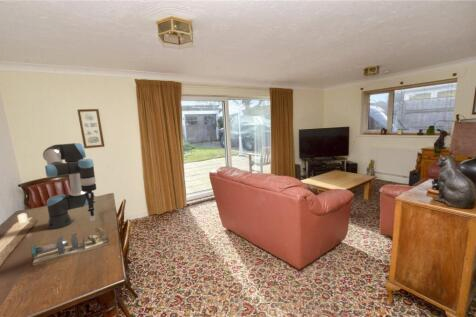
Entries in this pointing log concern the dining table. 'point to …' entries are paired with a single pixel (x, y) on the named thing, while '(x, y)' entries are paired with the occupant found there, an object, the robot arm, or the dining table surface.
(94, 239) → the bone
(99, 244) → the board
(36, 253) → the shaft
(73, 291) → the dining table surface
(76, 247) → the grey angular blocks
